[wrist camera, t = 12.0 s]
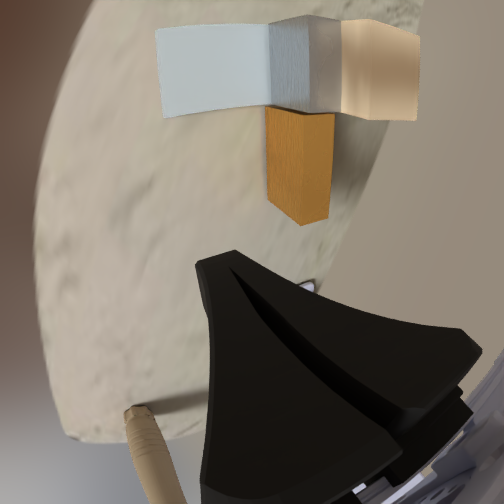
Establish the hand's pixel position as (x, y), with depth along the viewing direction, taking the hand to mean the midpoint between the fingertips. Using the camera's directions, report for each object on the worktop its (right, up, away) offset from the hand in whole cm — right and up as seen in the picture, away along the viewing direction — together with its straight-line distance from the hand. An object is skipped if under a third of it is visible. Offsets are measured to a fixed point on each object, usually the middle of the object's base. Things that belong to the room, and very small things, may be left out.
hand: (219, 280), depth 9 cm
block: (+5, +13, +6) cm, 15 cm away
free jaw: (+3, +9, +7) cm, 12 cm away
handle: (-11, -16, +17) cm, 26 cm away
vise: (+2, +12, +6) cm, 14 cm away
